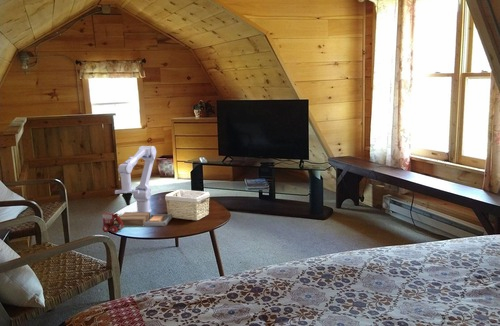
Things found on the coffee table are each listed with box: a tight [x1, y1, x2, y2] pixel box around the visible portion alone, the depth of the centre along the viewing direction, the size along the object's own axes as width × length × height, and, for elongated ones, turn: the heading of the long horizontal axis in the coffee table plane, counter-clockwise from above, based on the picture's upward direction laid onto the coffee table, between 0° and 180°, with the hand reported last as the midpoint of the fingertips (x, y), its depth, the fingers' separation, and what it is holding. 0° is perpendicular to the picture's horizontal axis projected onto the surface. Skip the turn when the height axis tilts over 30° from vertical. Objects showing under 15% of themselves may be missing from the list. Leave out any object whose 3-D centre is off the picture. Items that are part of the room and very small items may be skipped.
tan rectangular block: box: [149, 216, 164, 222], centre depth 260 cm, size 9×6×2 cm, turn 175°
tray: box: [143, 213, 173, 227], centre depth 260 cm, size 15×13×2 cm
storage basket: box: [164, 188, 211, 221], centre depth 269 cm, size 24×16×15 cm
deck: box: [119, 211, 151, 227], centre depth 262 cm, size 14×16×4 cm
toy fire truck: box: [101, 212, 124, 234], centre depth 247 cm, size 7×12×10 cm, turn 75°
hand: (128, 205), depth 263 cm, fingers closed
